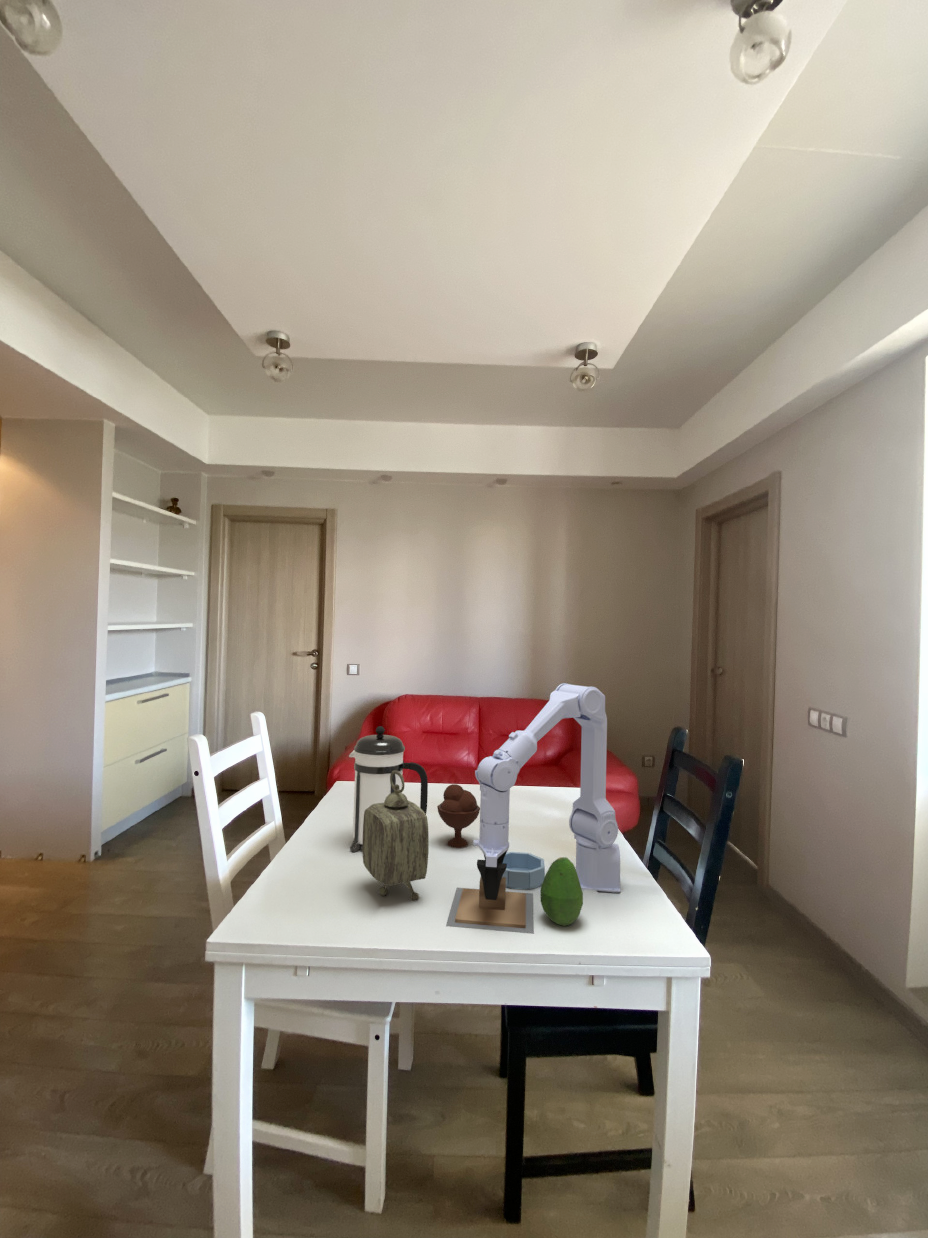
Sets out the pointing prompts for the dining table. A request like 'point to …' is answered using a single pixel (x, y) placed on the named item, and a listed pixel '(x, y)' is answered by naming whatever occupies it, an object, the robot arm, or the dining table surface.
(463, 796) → the ice cream bowl
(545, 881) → the avocado
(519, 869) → the bowl
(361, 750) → the coffee press
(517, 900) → the cover board
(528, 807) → the dining table surface
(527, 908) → the mat
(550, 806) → the dining table surface
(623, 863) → the dining table surface
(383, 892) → the tabletop clock
